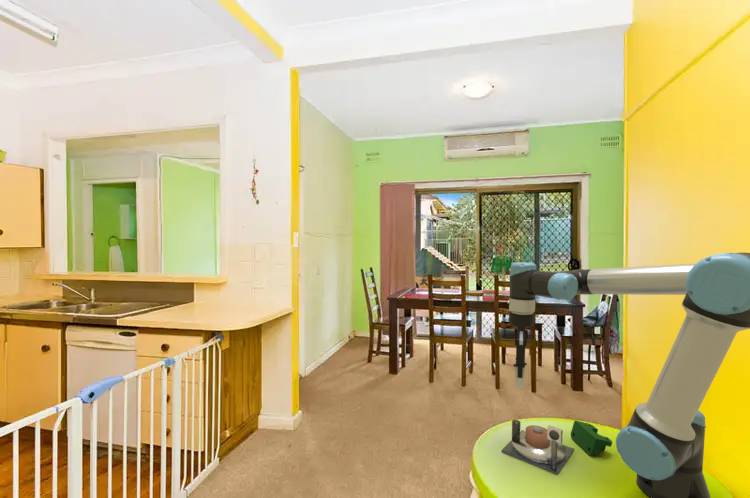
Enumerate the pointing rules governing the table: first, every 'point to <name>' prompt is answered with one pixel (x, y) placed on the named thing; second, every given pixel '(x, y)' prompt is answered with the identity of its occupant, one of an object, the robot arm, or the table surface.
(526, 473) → the table surface
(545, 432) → the cover
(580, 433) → the clamp
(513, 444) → the turntable
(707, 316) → the robot arm
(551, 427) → the turntable base
